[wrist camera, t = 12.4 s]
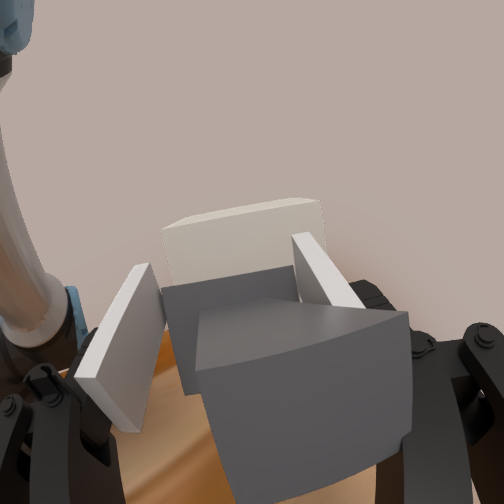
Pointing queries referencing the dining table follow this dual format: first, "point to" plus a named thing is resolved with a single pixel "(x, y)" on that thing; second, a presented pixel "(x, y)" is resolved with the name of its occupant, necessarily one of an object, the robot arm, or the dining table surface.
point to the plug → (290, 381)
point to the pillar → (240, 239)
